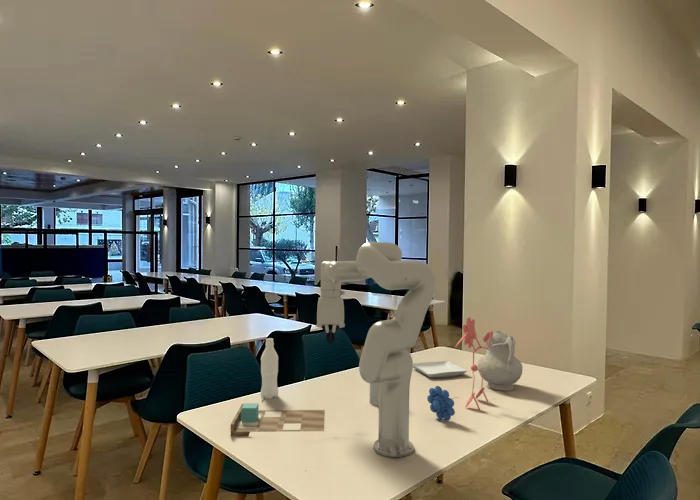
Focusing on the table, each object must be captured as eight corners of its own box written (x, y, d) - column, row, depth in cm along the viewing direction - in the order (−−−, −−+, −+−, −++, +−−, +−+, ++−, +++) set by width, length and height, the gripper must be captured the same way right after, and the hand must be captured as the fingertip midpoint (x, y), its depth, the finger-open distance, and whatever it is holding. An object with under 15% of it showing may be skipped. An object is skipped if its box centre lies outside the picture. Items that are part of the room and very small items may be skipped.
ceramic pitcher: (534, 395, 205) (538, 337, 205) (498, 396, 198) (502, 337, 198) (501, 381, 225) (505, 329, 225) (467, 382, 218) (471, 328, 218)
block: (256, 422, 165) (256, 408, 165) (241, 422, 164) (241, 408, 164) (258, 417, 170) (258, 403, 170) (244, 417, 169) (244, 403, 169)
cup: (388, 406, 186) (388, 376, 185) (367, 405, 187) (368, 375, 187) (390, 400, 194) (390, 371, 193) (371, 398, 195) (371, 369, 195)
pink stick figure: (498, 398, 196) (497, 314, 196) (473, 416, 176) (471, 322, 176) (464, 392, 206) (462, 312, 206) (436, 408, 185) (434, 319, 185)
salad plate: (409, 369, 243) (410, 362, 243) (446, 366, 249) (446, 360, 249) (428, 381, 222) (428, 373, 222) (468, 377, 229) (468, 370, 229)
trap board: (323, 435, 158) (323, 423, 157) (230, 436, 156) (230, 424, 156) (324, 413, 177) (324, 403, 177) (242, 414, 176) (242, 403, 176)
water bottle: (256, 400, 192) (257, 339, 192) (267, 395, 198) (268, 336, 198) (271, 403, 189) (271, 341, 188) (281, 398, 195) (281, 338, 195)
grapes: (420, 418, 174) (420, 385, 174) (431, 413, 179) (431, 382, 178) (447, 426, 166) (448, 392, 166) (458, 421, 170) (458, 388, 170)
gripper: (350, 293, 180) (349, 340, 180) (311, 292, 179) (310, 340, 180) (351, 295, 173) (350, 345, 173) (310, 295, 172) (310, 345, 172)
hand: (330, 342), depth 176 cm, fingers closed
